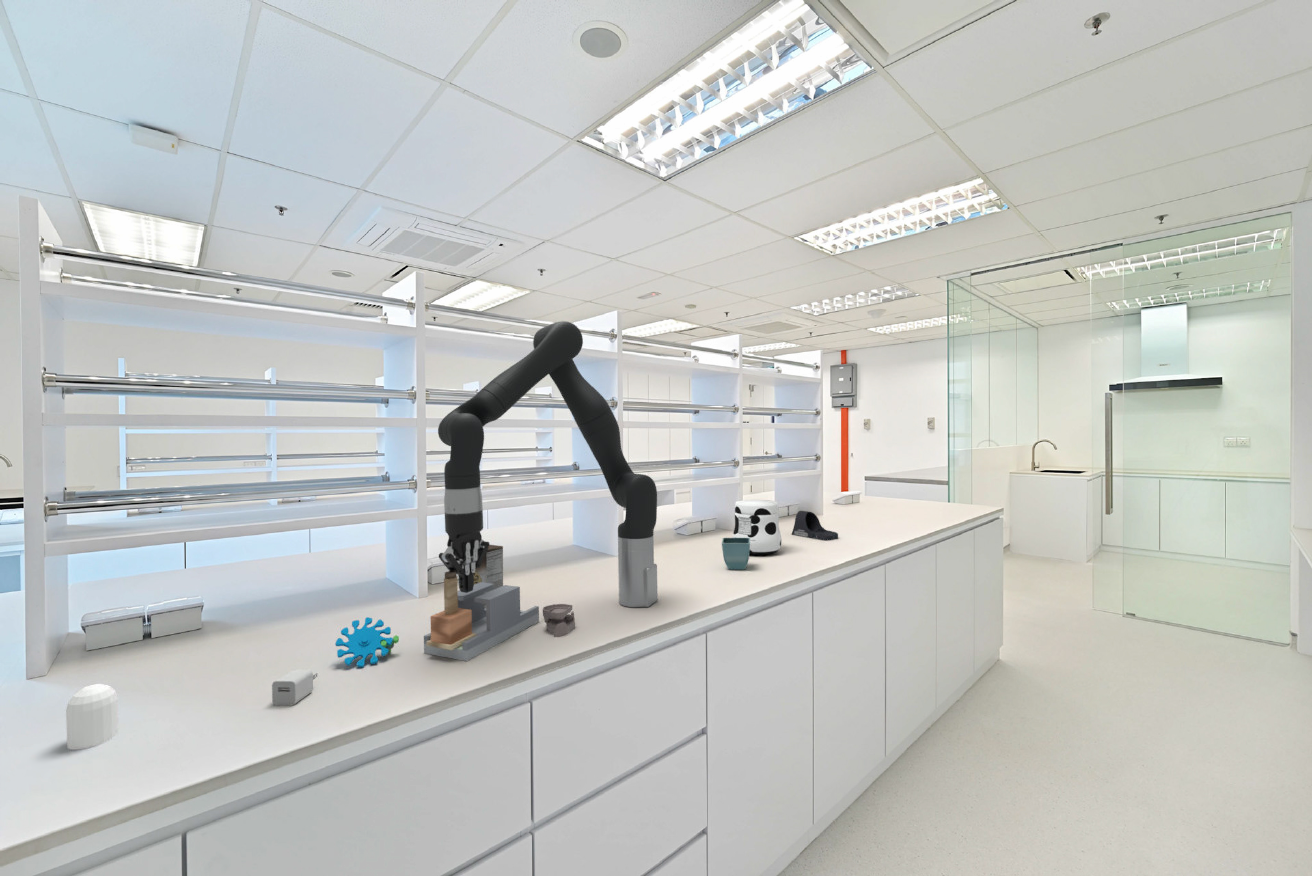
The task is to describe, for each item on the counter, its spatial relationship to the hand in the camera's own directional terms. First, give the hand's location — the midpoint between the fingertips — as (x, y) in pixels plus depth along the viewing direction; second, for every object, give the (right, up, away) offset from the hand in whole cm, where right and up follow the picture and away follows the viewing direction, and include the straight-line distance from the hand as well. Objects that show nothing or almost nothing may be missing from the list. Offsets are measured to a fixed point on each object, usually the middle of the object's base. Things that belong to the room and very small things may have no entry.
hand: (466, 591), depth 116 cm
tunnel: (+2, -11, +5) cm, 12 cm away
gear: (-17, -12, -7) cm, 22 cm away
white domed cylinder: (-44, -13, -34) cm, 57 cm away
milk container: (+76, -9, +83) cm, 113 cm away
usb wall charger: (-22, -12, -21) cm, 33 cm away
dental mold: (+18, -11, +8) cm, 23 cm away
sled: (-2, -9, -4) cm, 10 cm away
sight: (+105, -9, +111) cm, 153 cm away
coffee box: (-4, -11, +23) cm, 26 cm away
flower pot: (+65, -10, +61) cm, 90 cm away
